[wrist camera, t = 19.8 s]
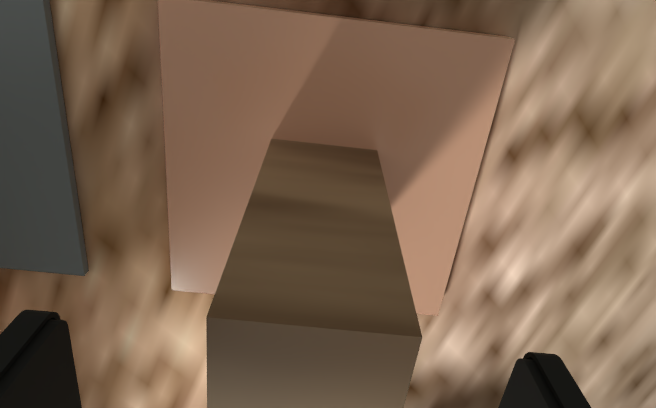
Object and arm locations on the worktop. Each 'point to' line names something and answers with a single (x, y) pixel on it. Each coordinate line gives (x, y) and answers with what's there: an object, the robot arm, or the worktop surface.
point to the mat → (35, 148)
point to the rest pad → (321, 122)
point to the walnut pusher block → (314, 289)
